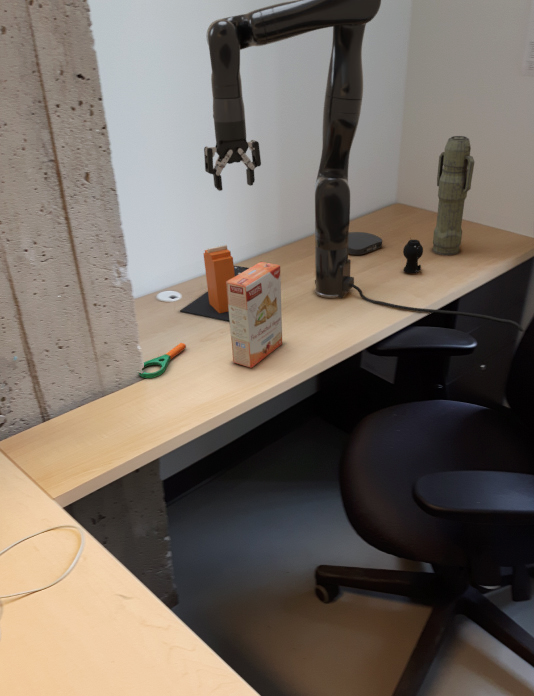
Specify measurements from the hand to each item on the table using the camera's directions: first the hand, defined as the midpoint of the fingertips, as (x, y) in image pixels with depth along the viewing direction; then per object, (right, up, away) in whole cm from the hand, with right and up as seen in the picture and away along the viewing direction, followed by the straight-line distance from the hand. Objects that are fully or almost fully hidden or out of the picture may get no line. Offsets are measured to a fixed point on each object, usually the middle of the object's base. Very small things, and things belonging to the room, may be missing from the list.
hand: (235, 187), depth 151 cm
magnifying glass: (-16, -46, -8) cm, 49 cm away
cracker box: (+6, -43, -7) cm, 44 cm away
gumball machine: (+52, -15, +32) cm, 63 cm away
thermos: (+66, -5, +46) cm, 81 cm away
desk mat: (-5, -28, +16) cm, 33 cm away
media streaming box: (+37, -2, +52) cm, 64 cm away
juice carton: (-7, -19, +14) cm, 24 cm away
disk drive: (+1, -18, +30) cm, 36 cm away
